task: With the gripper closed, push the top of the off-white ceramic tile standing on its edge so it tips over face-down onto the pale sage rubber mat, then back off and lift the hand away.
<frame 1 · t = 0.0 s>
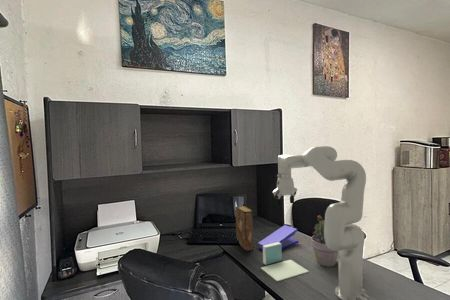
hand: (285, 204, 154), 31 cm above the table, tool pointing down, fingers open, 9 cm apart
book: (245, 245, 172), on the table
desk mat: (284, 270, 138), on the table
tile: (272, 261, 148), on the table
potted plant: (327, 263, 144), on the table
stapler: (278, 245, 171), on the table
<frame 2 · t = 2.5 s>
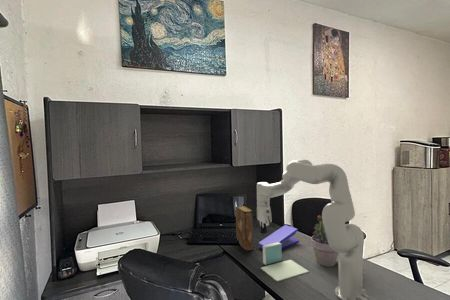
hand: (263, 233, 155), 14 cm above the table, tool pointing down, fingers closed
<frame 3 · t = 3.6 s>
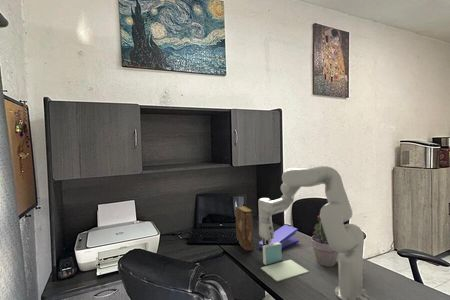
hand: (266, 249, 154), 5 cm above the table, tool pointing down, fingers closed
nothing on the table moved.
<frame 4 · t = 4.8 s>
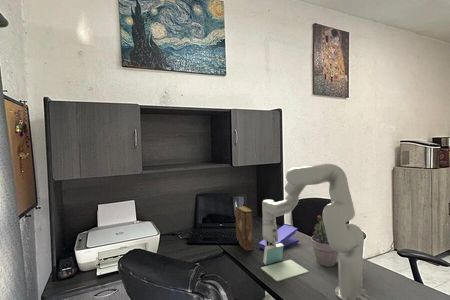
hand: (270, 252, 150), 4 cm above the table, tool pointing down, fingers closed
tile: (272, 261, 148), on the table, tilted 13°
everything else where it was.
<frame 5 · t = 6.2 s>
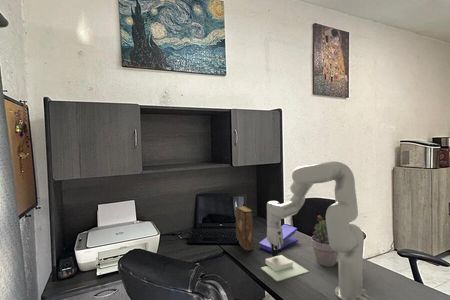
hand: (274, 255, 145), 5 cm above the table, tool pointing down, fingers closed
tile: (273, 259, 147), point 2 cm above the table, tilted 90°, touching desk mat
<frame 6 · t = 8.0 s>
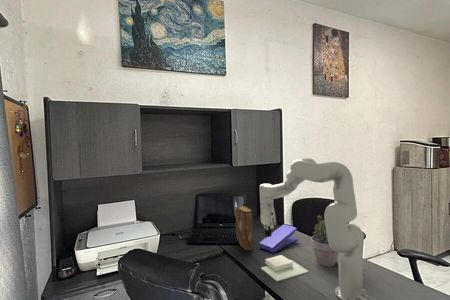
hand: (268, 236, 151), 14 cm above the table, tool pointing down, fingers closed
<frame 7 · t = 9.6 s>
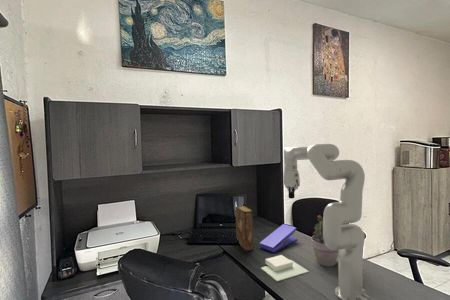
hand: (291, 198, 155), 34 cm above the table, tool pointing down, fingers closed
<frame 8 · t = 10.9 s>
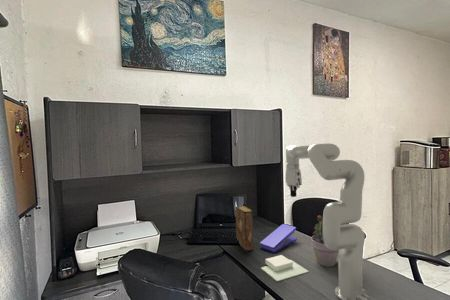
hand: (293, 196, 156), 35 cm above the table, tool pointing down, fingers closed
at the end: tile tilted 90°; tile touching desk mat; tile inside the target area (0.7 cm from its centre), point 2.0 cm above the table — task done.
